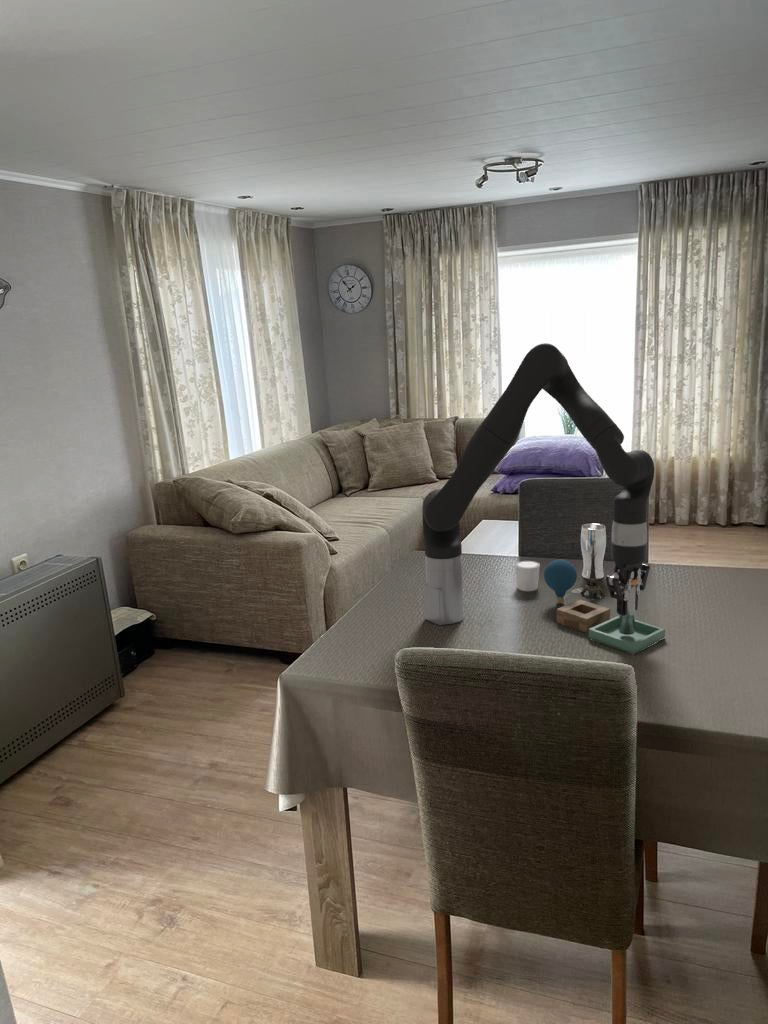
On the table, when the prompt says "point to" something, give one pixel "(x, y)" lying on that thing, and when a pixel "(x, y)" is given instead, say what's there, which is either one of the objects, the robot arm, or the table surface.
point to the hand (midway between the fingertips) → (627, 611)
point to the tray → (627, 643)
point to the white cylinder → (527, 575)
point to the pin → (629, 611)
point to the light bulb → (560, 577)
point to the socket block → (582, 615)
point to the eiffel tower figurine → (590, 586)
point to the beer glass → (593, 548)
